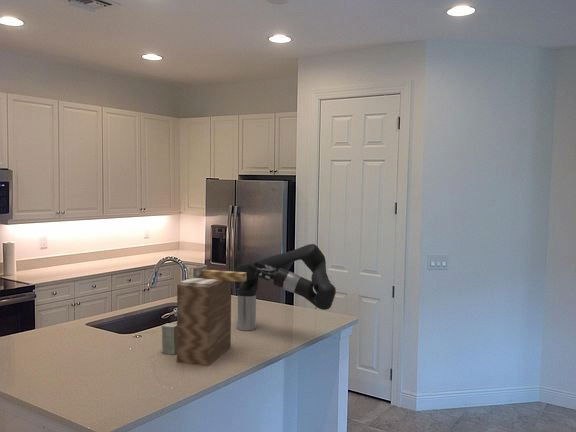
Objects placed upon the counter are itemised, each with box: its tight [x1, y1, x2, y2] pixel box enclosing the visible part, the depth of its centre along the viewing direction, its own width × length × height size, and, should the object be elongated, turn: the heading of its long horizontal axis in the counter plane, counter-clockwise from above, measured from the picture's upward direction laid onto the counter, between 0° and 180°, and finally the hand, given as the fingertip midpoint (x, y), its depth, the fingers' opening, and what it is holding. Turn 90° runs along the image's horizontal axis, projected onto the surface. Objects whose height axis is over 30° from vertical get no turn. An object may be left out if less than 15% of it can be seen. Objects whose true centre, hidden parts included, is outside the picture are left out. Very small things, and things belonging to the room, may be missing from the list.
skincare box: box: [161, 322, 177, 355], centre depth 222 cm, size 6×4×12 cm
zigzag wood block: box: [176, 277, 232, 367], centre depth 219 cm, size 14×24×33 cm, turn 165°
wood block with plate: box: [192, 264, 247, 283], centre depth 221 cm, size 22×9×5 cm, turn 75°
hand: (251, 265), depth 211 cm, fingers open, 8 cm apart
